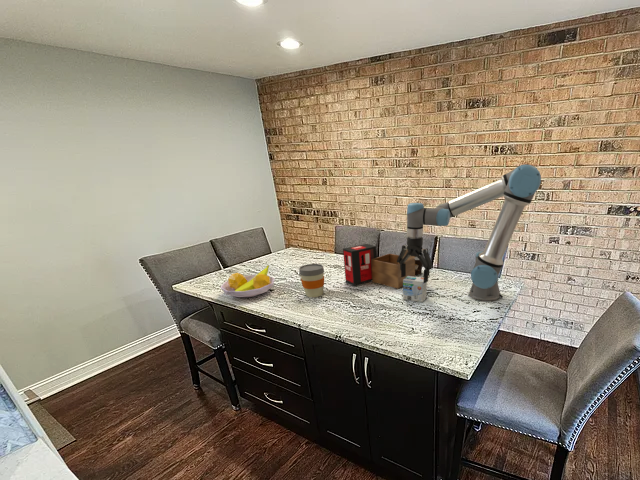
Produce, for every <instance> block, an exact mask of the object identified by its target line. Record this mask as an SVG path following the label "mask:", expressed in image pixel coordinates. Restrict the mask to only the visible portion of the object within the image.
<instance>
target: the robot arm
mask: <svg viewBox="0 0 640 480" xmlns="http://www.w3.org/2000/svg"><path fill="white" fill-rule="evenodd" d="M541 183H542V177H541V172H540V170H539V169H538V168H537V167H536V166H534V165H532V164H528V163H527V164H525V163H524V164H520V165H518V166H516V167H515V168H514V169H513V170H511V171H509V172H507V173H504V174H502V175H501V177H500V178H499V179H497V180H494V181H492V182H489V183H488V184H485V185H483V186H481V187H479V188H476V189H474V190H471V191H469V192H467V193H464V194H462V195H459V196H458V197H455V198H453V199H451V200H449V201H446V202H445V203H441V204H438V205H437V206H436V207H434V208H432V207H431V208H429V207H425V206H424V203H422V202H410V203H408V204H407V206H406V207H407V209H406V244H403V245H402V246H401V250H400V251H399V254H398V255H399V257H398V259H397V262H398V263H400V270H401V277H405V276H406V264H404V263H405V261H406V260H407V259H408V258H409V257H410V255H411V256H414V257H417V258H419V260H420V261H421V263H422V267H423V268H424V269H423V278H424V283H426V282H427V283H428V282H429V277H430V271H431V270H433V269H434V265H433V262H432V258H431V257H430V256H431V255H430V254H429V248H423V244H424V238H423V236H424V226H434V227H435V226H437V227H447V226H449V224H450V220H451V218H453V217H456V216H458V215H461V214H463V213H465V212H469V211H471V210H473V209H475V208H478V207H480V206H483V205H485V204H489V203H490V202H493V201H495V200H497V199H498V200H499V199H500V198H504V201H503V203H502V206H501V208H500V210H499V213H498V215H497V218H496V221H495V223H494V225H493V228H492V230H491V233H490V235H489V238H488V240H487V243H486V245H485V248H484V249H483V250H482V251H477V252H476V253H475V263H474V264H473V268H472V270H471V272H470V279H471V282H472V285H471V287H470V289H469V297H470V298H472V299H474V300H477V301H482V302H494V301H497V300H499V299H500V298H501V299H502V298H504V296H503V295H502V294H501V291H500V287H499V274H500V273H501V270H502V268H503V266H504V264H505V263H504V260H503V257H504V255H505V253H506V250H507V248H508V246H509V244H510V242H511V240H512V237H513V235H514V232H515V231H516V228H517V225H518V224H519V222H520V219H521V217H522V214H523V212H524V209H525V207H527V206H529V205H530V204H531V203H532V201H533V199H534V197H535V194H536V192H537V191H538V190H539V189H540V186H541ZM406 250H408V252H407V254H406V255H405V257H404V258H403V256H404V254H405V252H406Z"/></svg>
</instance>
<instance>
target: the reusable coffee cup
mask: <svg viewBox="0 0 640 480" xmlns="http://www.w3.org/2000/svg"><path fill="white" fill-rule="evenodd" d="M298 270H299V273H298V274H299V276H300V281H301V286H302V288H303V289H304V293H305V296H306V297H307V298H319V297H321V296H323V295H324V286H325V275H324V274H325V269H324V265H323V264H322V263H321V264H320V263H309V264H303V265H301V266H299V268H298Z"/></svg>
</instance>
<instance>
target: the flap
mask: <svg viewBox="0 0 640 480" xmlns="http://www.w3.org/2000/svg"><path fill="white" fill-rule="evenodd" d="M407 252H408V250H406V252H405V254H404V256H403V258H404V257H405V255H406V254H407ZM412 258H415V257H414V256H411V255H410V257H409V258H408V259H407V260H410V259H412ZM407 260H406V261H407ZM398 264H400V263H398Z"/></svg>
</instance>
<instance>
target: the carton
mask: <svg viewBox="0 0 640 480" xmlns="http://www.w3.org/2000/svg"><path fill="white" fill-rule="evenodd" d="M399 255H400V254H394V253H387V254H383V255H380V256H378V257H377V258H375V259H372V260H371V265H372V281H371V282H372V283H374V284H378V285H382V286H386V287H388V288H389V287H390V288H393V289H397V290H399V289H401V288H403V279H405V278H406V277H407V276H413V277H416V275H415V258H412V259H410V260H407V261H405V263H404V264H406V276H405V277H401V270H400V264H398V262H397V259H398V257H399Z"/></svg>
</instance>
